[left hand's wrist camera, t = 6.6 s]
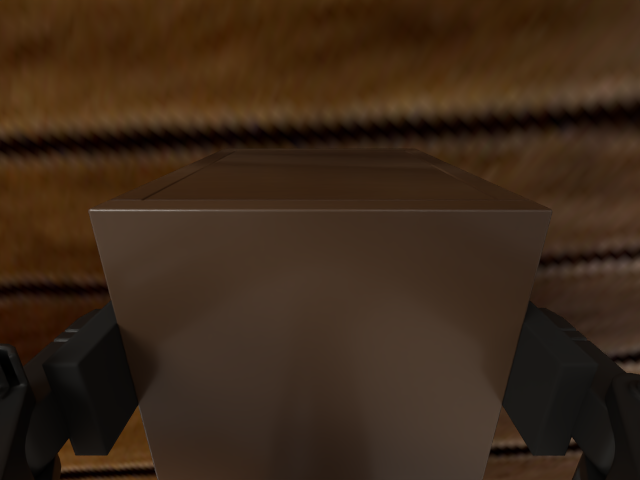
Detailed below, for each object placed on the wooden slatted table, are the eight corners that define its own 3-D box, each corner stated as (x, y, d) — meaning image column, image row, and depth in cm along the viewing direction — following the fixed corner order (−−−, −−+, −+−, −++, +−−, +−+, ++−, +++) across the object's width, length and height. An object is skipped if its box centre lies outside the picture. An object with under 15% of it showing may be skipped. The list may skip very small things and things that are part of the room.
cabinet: (391, 390, 24) (448, 615, 13) (248, 390, 24) (191, 614, 13) (416, 148, 18) (554, 209, 7) (224, 148, 18) (85, 209, 7)
